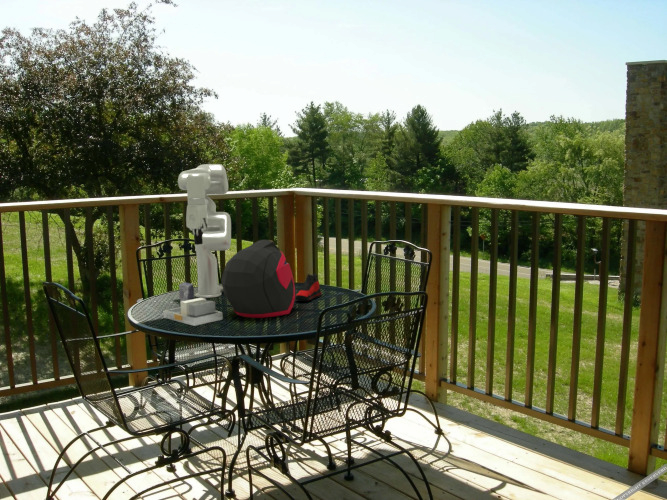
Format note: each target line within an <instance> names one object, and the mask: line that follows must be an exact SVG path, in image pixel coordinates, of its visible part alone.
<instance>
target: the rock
mask: <svg viewBox="0 0 667 500" xmlns="http://www.w3.org/2000/svg"><path fill="white" fill-rule="evenodd" d="M178 288H179V289H178V290H179V295H178V296H179V305H181V303H180V302H182V301H187V300H192V299H195V297H194V296H195V290H194V289H195V288H194V284H193V283H190V282H182V283H180V284H179V285H178Z"/></svg>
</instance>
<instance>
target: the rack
mask: <svg viewBox="0 0 667 500" xmlns="http://www.w3.org/2000/svg"><path fill="white" fill-rule="evenodd" d="M162 313H163V318H164V319H167V320H170V321H175V322H178V323H182V324H185V325H190V326H194V327H195V326H200V325H203V324H209V323H212V322H216V321H217V322H218V321H221V320H223V319H224V317H223V312H222V311H218V310H216V301H213V300H206V301H204V302H199V303H194V304H189V314H188V315H182V314H181V306H179V307H174V308H171V309H170V308H169V309H166V310H163V311H162Z"/></svg>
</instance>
